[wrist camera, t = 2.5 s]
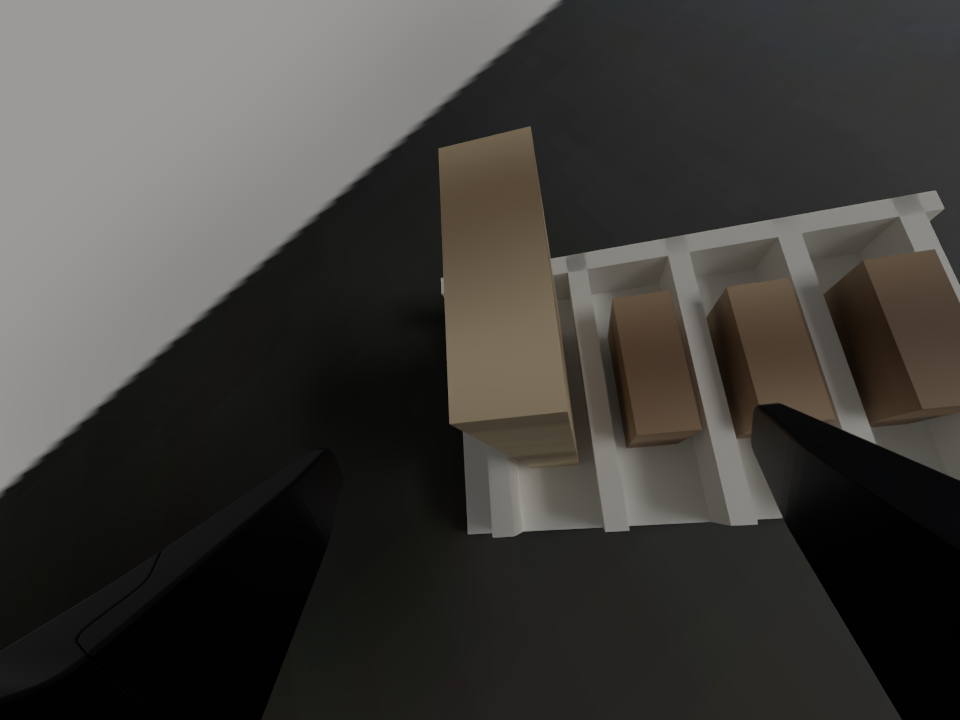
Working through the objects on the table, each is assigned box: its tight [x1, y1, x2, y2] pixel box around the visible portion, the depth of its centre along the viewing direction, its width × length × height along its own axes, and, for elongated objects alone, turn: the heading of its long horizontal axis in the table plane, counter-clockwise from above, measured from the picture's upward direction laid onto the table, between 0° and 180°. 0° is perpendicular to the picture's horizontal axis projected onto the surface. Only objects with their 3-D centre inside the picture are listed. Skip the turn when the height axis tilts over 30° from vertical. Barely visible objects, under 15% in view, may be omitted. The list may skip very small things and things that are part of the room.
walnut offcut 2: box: [706, 278, 835, 439], centre depth 16 cm, size 5×2×4 cm, turn 4°
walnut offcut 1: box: [608, 290, 702, 448], centre depth 17 cm, size 5×2×4 cm, turn 4°
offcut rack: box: [441, 190, 960, 537], centre depth 17 cm, size 11×19×3 cm, turn 94°
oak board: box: [439, 126, 579, 468], centre depth 14 cm, size 6×2×12 cm, turn 4°
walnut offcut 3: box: [823, 249, 960, 427], centre depth 15 cm, size 5×2×4 cm, turn 4°
